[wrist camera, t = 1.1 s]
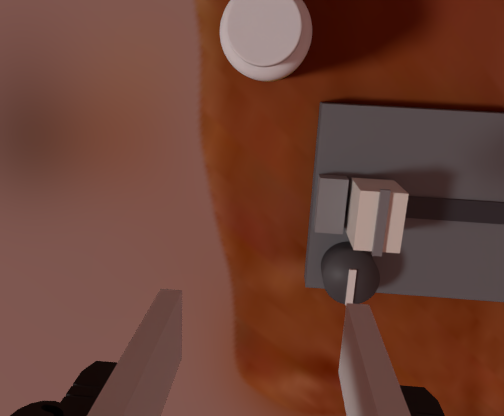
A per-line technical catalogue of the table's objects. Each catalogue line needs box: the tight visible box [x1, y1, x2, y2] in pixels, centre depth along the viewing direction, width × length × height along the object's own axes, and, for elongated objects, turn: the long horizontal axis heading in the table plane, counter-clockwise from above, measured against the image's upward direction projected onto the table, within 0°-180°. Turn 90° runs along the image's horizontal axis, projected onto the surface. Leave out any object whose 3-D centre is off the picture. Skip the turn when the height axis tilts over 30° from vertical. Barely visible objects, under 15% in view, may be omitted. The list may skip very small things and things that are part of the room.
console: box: [304, 102, 504, 306], centre depth 33 cm, size 14×24×5 cm, turn 87°
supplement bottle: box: [220, 0, 312, 82], centre depth 28 cm, size 5×5×10 cm
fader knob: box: [345, 178, 409, 257], centre depth 31 cm, size 4×3×4 cm
